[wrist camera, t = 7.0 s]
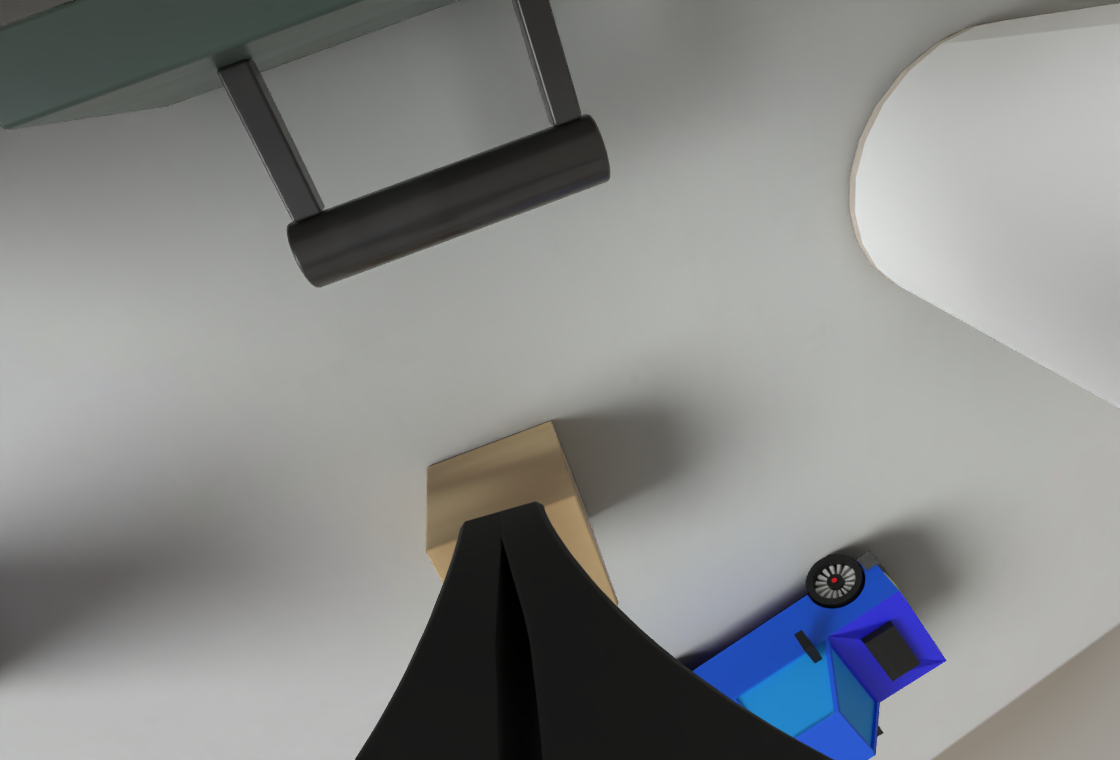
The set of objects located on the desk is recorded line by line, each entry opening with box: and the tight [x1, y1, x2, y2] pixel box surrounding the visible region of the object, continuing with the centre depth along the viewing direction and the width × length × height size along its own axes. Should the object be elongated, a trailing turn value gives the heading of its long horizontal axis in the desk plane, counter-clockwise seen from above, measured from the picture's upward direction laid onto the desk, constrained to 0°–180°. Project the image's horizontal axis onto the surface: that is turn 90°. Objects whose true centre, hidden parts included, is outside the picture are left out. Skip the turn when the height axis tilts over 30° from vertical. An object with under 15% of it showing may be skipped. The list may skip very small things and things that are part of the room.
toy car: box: [692, 551, 946, 760], centre depth 27 cm, size 7×12×5 cm, turn 126°
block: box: [426, 421, 618, 606], centre depth 21 cm, size 4×4×4 cm
